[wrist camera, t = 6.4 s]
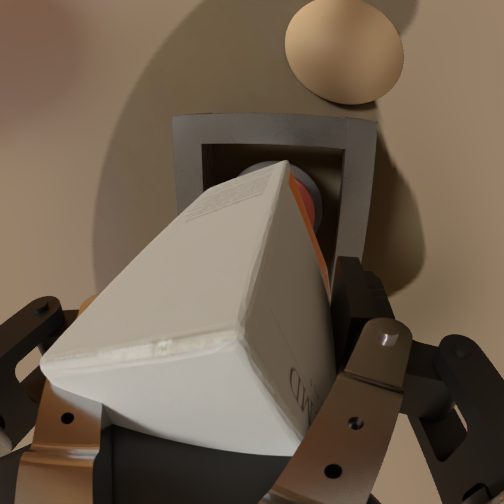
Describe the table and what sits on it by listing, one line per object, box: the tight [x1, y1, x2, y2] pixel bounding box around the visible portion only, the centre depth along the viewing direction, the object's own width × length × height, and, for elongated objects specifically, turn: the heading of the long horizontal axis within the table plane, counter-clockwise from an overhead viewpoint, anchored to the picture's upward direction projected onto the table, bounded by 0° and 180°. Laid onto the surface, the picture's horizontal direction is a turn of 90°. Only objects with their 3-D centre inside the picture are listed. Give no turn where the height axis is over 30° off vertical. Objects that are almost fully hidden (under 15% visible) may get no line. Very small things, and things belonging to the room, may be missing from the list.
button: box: [238, 161, 323, 234], centre depth 18 cm, size 6×6×1 cm
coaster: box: [285, 0, 404, 104], centre depth 15 cm, size 7×7×1 cm
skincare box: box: [40, 160, 337, 456], centre depth 10 cm, size 6×4×12 cm
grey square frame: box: [172, 113, 378, 293], centre depth 18 cm, size 10×11×4 cm
